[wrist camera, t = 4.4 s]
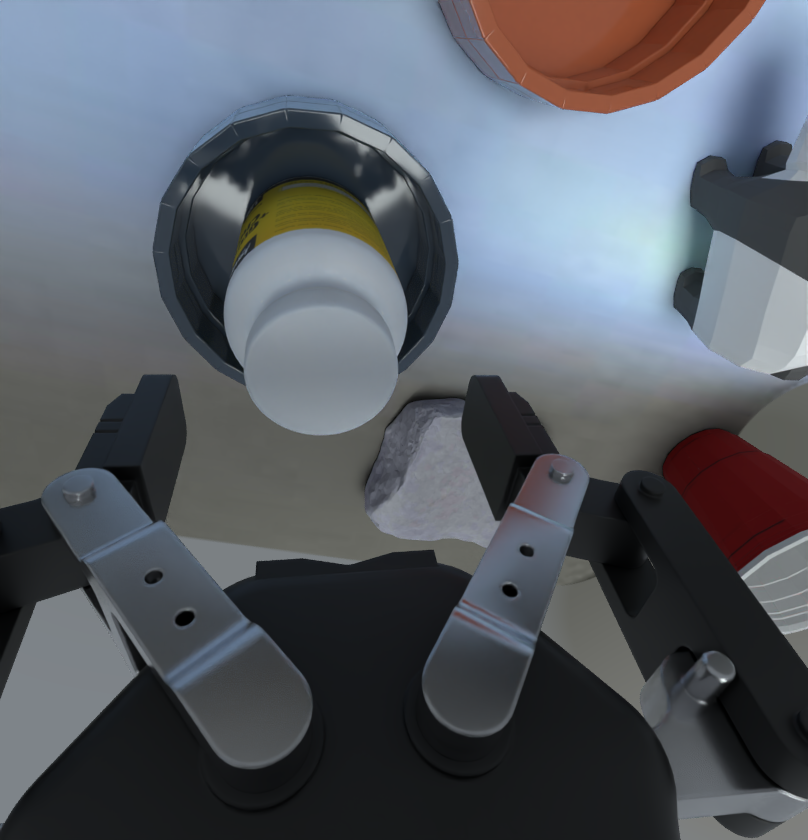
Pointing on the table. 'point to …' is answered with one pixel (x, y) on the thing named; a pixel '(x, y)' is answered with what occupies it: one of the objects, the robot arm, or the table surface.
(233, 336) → the pill bottle
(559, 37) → the terracotta bowl
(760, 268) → the giant panda
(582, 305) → the table surface
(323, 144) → the metal bowl
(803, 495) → the plastic cup
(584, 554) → the robot arm
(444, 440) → the stone block
